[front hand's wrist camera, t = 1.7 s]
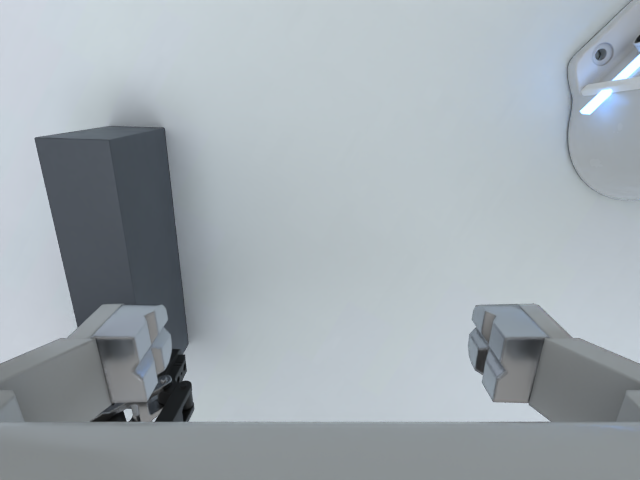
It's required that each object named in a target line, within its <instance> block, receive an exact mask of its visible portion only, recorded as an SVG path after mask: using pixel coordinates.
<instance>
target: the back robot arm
mask: <svg viewBox="0 0 640 480" xmlns="http://www.w3.org/2000/svg"><path fill="white" fill-rule="evenodd" d="M186 372H187V369H186V361H185V355H182V351H181V349H172V352H171V357H170V361H169V363H168V365H167V367H166V369H165V370H164V371H163V372H161V373H160V374H158V375H157V377H158V378H157V379H158V384H157V385H156V387H155V389H154V391H153V392H152V394H151V396H150V398H149V399H148V401H149V400H150V399H151V398H153V397H155V396H156V395H157V397H158V399H156V400H155V401H153V402H152V403H150V404H148V401H147V402H129V403H111V405H110V406H109V407H108V408H106V409H105V410H104V411H102V412H101V413H100V414H98V415H97V416H96V417H95V418H93V419H92V420H91V421H89V422H126V418H125V415H124V412H123V410H125V409H126V408H128V407H130V406H131V408H132V413H133V416H132V418H131V420H130V421H129V422H152V420H153V419H154V418H155V417H157V416H158V417H157V419H156V421H155V422H188V421H189V419H190V417H191V415H192V413H193V411H194V403H193V398H192V385H191V382H189V381H182V380H183V378H184V375H185V374H186Z"/></svg>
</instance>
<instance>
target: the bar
mask: <svg viewBox="0 0 640 480" xmlns="http://www.w3.org/2000/svg"><path fill="white" fill-rule="evenodd" d="M35 143H36V147H37V152H38V156H39V160H40V165H41V169H42V173H43V178H44V182H45V187H46V191H47V195H48V200H49V204H50V208H51V213H52V217H53V222H54V226H55V230H56V235H57V239H58V243H59V248H60V252H61V257H62V261H63V265H64V270H65V274H66V278H67V283H68V287H69V291H70V296H71V300H72V305H73V309H74V313H75V318H76V322H77V326H78V327H79V326H80V325H81V324H82V323H83V322H84V321H85V320H86V319H88V318H89V317H90V316H91V315H92V314H93V313H94V312H95V311H96V310H97V309H98V308H99V307H100V306H101V305H103V304H154V305H163V306H164V307H165V308H166V311H167V316H168V321H167V322H166V324H165V325H164V328H165V329H166V330H167V331H168V332H169V333H170V334H171V340H172V349H181V351H182V355H183V353H184V351H185V349H186V348H187V346H188V335H187V326H186V317H185V309H184V300H183V291H182V282H181V273H180V264H179V255H178V246H177V237H176V228H175V219H174V210H173V201H172V192H171V183H170V174H169V165H168V157H167V148H166V139H165V130H164V128H154V127H120V126H107V127H101V128H94V129H87V130H81V131H74V132H68V133H61V134H55V135H48V136H42V137H36V138H35ZM157 378H158V377H157ZM156 399H158V397H157V395H156V396H155V397H153V398H151V399H150V400H149V401H148V404H150V403H152V402H153V401H155V400H156ZM126 409H132V408H131V406H130V407H128V408H126Z"/></svg>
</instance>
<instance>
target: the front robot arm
mask: <svg viewBox="0 0 640 480" xmlns="http://www.w3.org/2000/svg"><path fill="white" fill-rule="evenodd" d="M598 50H599V51H600V52H601V56H600V58H599V59H598V60H597V59H596V52H597V51H598ZM568 80H569V86H570V90H571V94H572V98H573V102H572V111H571V117H570V122H569V129H568V145H569V152H570V157H571V160H572V163H573V165H574V167H575V169H576V171H577V173H578V175H579V176H580V177H581V179H582V180H583V181H584V182H585V183H586V184H587V185H588V186H589V187H591V188H592V189H593V190H595V191H596V192H598V193H600V194H602V195H604V196H607V197H610V198H614V199H619V200H640V0H632V1H631V2H630V3H629V4H628V5H627V6H626V7H625V8H624V9H622V10H621V11H620V12H619V13H618V14H617V15H616V16H615V17H614V18H613V19H612V20H611V21H610V22H609V23H608V24H607V25H606V26H605V27H604V28H602V29H601V30H600V31H599V32H598V33H597V34H596V35H595V36H594V37H593V38H592V39H591V40H590V41H589V42H588V43H587V44H586V45H585V46H584V47H583V48H581V49H580V50H579V51H578V52H577V53H576V54H575V55H574V56H573V58H572V59H571V61H570V63H569V65H568ZM167 321H168V316H167V311H166V308H165V307H164V306H163V305H154V304H103V305H101V306H100V307H99V308H98V309H97V310H96V311H95V312H94V313H93V314H92V315H91V316H90V317H89V318H88V319H86V320H85V321H84V322H83V323H82V324H81V325H80V326H79V327H78V328H77V329H76V330H75V331H74V332H73V333H72V334H71V335H70V336H69V337H68V338H60V339H58V340H55V341H53V342H50V343H48V344H46V345H43V346H41V347H39V348H36V349H34V350H32V351H29V352H27V353H24V354H22V355H20V356H17V357H15V358H13V359H10V360H8V361H6V362H3V363H1V364H0V480H640V364H639V363H637V362H634V361H632V360H630V359H627V358H625V357H622V356H620V355H618V354H615V353H613V352H611V351H608V350H606V349H604V348H601V347H599V346H597V345H594V344H592V343H589V342H587V341H585V340H582V339H580V338H572V337H571V336H570V335H569V334H568V333H567V332H566V331H565V330H564V329H563V328H562V327H561V326H560V325H559V324H558V323H557V322H556V321H555V320H554V319H553V318H552V317H550V316H549V315H548V314H547V313H546V312H545V311H544V310H543V309H542V308H541V307H540V306H539V305H537V304H534V303H533V304H498V305H476V306H475V308H474V310H473V315H472V321H473V322H474V324H475V325H476V328H475V329H474V330H473V331H472V332H471V333H470V334H469V341H468V351H469V357H470V361H471V364H472V365H473V367H474V369H475V370H476V371H477V372H479V373H480V374H482V375H483V379H482V384H483V385H484V387H485V389H486V391H487V392H488V394H489V396H490V398H491V399H492V401H493V402H510V403H529V405H530V406H531V407H532V408H534V409H535V410H536V411H538V412H539V413H540V414H542V415H543V416H544V417H546V418H547V419H548V420H549V421H551V422H89V421H91V420H92V419H93V418H95V417H96V416H97V415H98V414H100V413H101V412H102V411H104V410H105V409H106V408H108V407H109V406H110V405H111V403H129V402H147V401H148V399H149V398H150V396H151V394H152V392H153V391H154V389H155V387H156V385H157V384H158V379H157V375H158V374H160V373H161V372H163V371H164V370H165V369H166V367H167V365H168V363H169V361H170V357H171V352H172V340H171V334H170V333H169V332H168V331H167V330H166V329H165V328H164V325H165V324H166V322H167Z"/></svg>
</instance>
